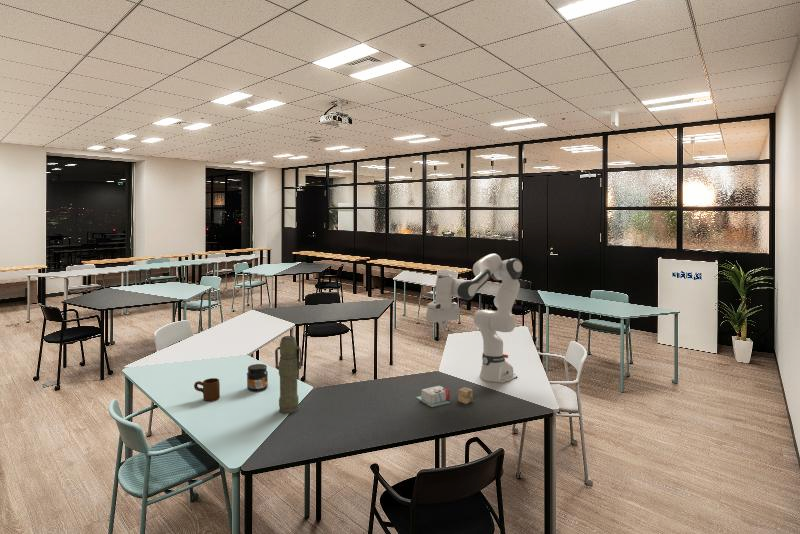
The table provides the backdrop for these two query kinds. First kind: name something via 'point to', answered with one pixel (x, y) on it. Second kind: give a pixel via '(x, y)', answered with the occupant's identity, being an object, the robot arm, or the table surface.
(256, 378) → the supplement container
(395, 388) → the table surface
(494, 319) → the robot arm
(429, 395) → the ink box
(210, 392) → the mug
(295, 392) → the thermos
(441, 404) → the mat
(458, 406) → the table surface
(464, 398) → the oak block
